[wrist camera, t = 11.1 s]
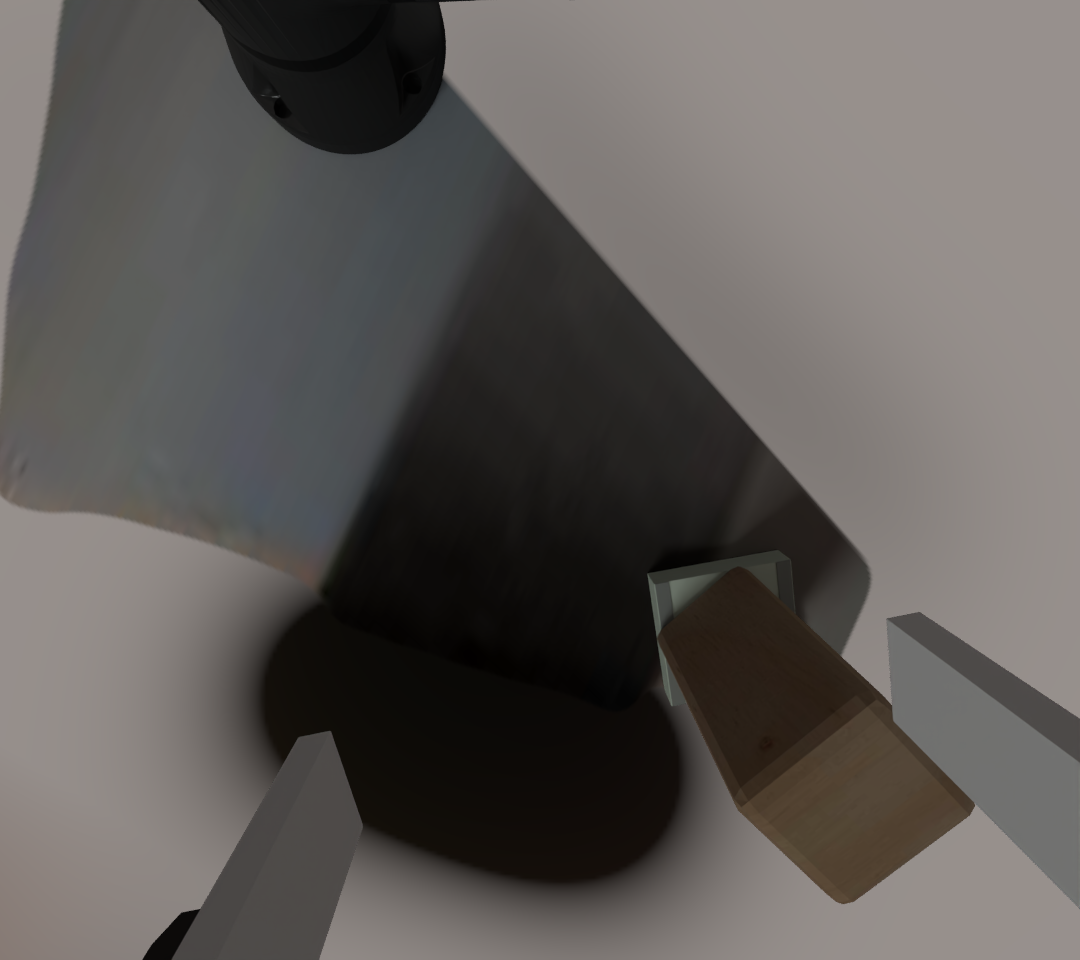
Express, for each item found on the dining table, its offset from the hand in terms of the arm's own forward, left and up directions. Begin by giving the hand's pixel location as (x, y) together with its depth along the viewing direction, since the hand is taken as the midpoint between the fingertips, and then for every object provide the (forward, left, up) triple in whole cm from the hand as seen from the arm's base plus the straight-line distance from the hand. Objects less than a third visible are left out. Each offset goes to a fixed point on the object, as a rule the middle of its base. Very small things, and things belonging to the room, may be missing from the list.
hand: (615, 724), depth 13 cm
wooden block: (+18, +13, -34) cm, 40 cm away
